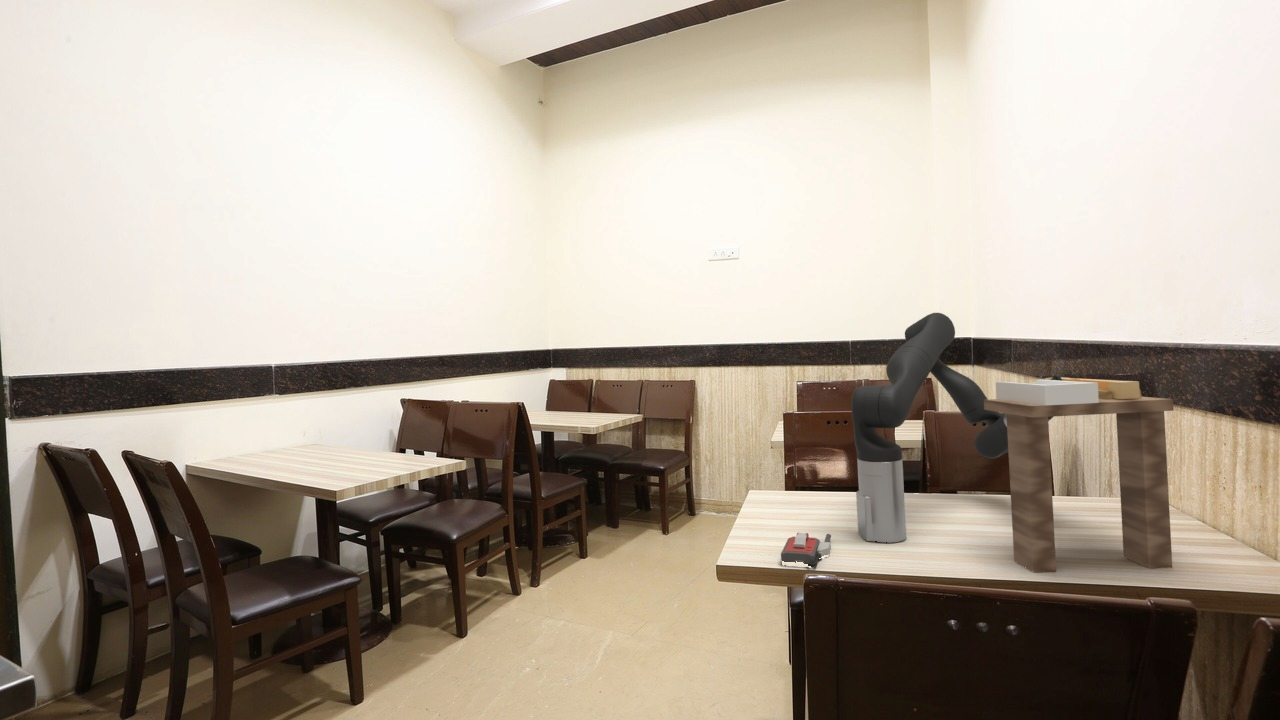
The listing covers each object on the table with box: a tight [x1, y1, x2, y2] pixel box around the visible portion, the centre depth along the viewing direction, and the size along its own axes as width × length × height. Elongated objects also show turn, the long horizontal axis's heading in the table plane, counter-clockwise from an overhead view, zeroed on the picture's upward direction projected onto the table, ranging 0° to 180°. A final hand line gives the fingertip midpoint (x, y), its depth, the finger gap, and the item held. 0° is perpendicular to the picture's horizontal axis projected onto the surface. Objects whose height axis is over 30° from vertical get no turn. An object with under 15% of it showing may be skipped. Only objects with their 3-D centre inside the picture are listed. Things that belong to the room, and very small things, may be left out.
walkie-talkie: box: [780, 532, 832, 568], centre depth 126 cm, size 9×4×20 cm
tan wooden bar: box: [1044, 376, 1140, 399], centre depth 120 cm, size 3×22×3 cm, turn 177°
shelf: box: [984, 389, 1174, 573], centre depth 114 cm, size 24×16×32 cm, turn 88°
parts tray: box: [995, 379, 1099, 405], centre depth 115 cm, size 9×16×4 cm, turn 177°
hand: (1069, 379), depth 125 cm, fingers closed on tan wooden bar, 3 cm apart
